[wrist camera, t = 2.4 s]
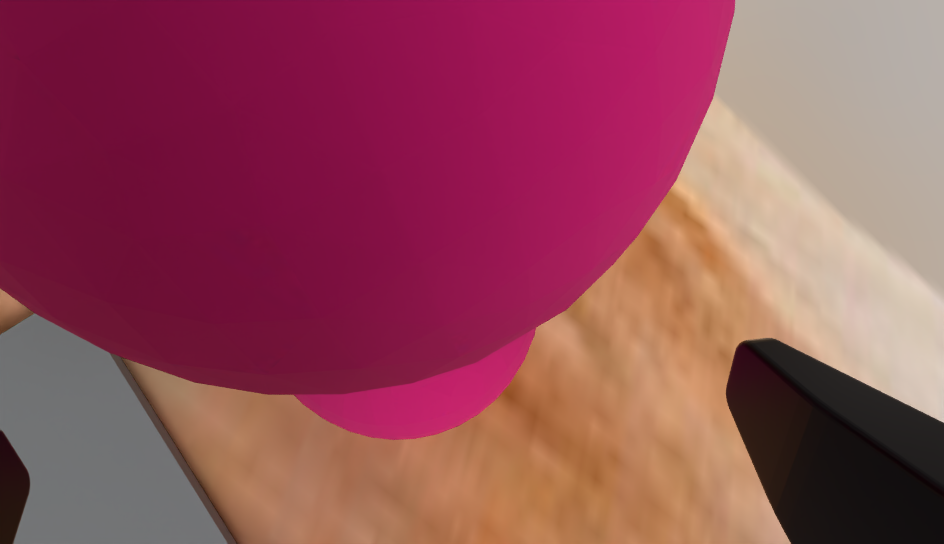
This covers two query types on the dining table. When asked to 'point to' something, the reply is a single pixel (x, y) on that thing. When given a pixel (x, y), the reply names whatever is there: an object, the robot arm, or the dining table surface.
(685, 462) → the dining table surface
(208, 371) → the magenta pepper mill
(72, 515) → the place mat
